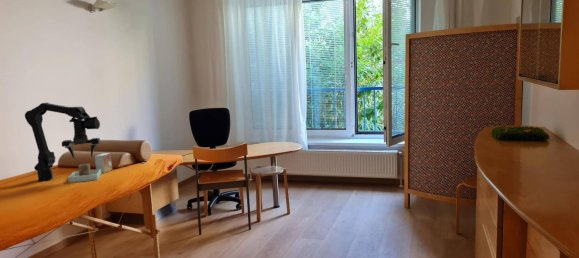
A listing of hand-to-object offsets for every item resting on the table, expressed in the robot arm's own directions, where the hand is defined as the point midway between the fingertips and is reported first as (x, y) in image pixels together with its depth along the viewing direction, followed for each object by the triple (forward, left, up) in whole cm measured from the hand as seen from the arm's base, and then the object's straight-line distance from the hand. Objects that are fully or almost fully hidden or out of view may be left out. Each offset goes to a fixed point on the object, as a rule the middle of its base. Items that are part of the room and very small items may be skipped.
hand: (82, 157), depth 238 cm
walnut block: (0, -1, -11) cm, 11 cm away
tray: (0, 0, -12) cm, 12 cm away
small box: (+8, +14, -12) cm, 20 cm away
